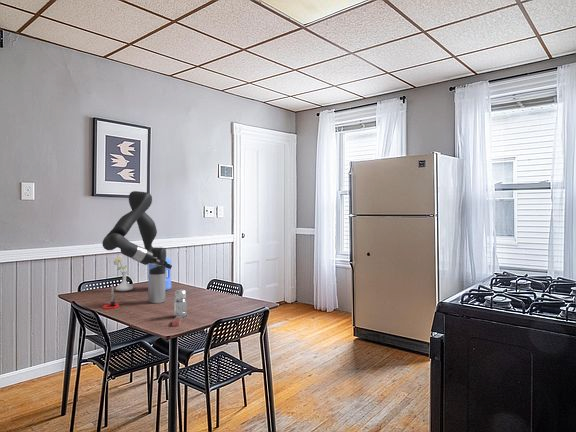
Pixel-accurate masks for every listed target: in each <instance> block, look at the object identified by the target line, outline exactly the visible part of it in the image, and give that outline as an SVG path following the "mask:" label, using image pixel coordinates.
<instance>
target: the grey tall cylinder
mask: <svg viewBox="0 0 576 432" xmlns="http://www.w3.org/2000/svg"><path fill="white" fill-rule="evenodd" d="M173 303H174V306H173V308H174V311H175V313H182V312H187V311H188V309H187V307H188V304H187V303H188V301H187V291H186V290H185V289H176V290H174V302H173ZM174 311H173V312H174Z"/></svg>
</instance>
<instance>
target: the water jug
mask: <svg viewBox="0 0 576 432" xmlns="http://www.w3.org/2000/svg"><path fill="white" fill-rule="evenodd" d="M166 262H167V263H168V264H170V265H172V259H171V258H169V257H167V256H166ZM155 267H157V266H154V265H152V264H150V263H149V264H147V268H148V269H147V271H148V272H147V273H148V274H147V276H148V277H147V278H148V280H147V281H148V286H150V274H149V271H150V269H152V268H155ZM166 271H167V276H165V291H169V290H171V289H172V278H171V269H168V268H165V272H166ZM148 286H147V287H148Z"/></svg>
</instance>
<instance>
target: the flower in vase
mask: <svg viewBox="0 0 576 432" xmlns="http://www.w3.org/2000/svg"><path fill="white" fill-rule="evenodd" d="M122 260H123V256H122V254H120V255H118V256H117V257H116V258H115V259H114V260H113V265H115V266H118V265H119V264H120V266H118V267H117V269H116V270H117V271H120V273H121V275H122V281H121V282H120V283H119V284H118V285H117V286H116V287H115V291H118V292H127V291H131V290H133V289H134V286H133V285H132V284H130V283H129V282H128V281H127V274H128V272H129V270H128V269H127V268H128V267H127V264H126V265H124V266H122V263H121V262H122ZM121 269H122V270H121ZM126 269H127V270H126Z"/></svg>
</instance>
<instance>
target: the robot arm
mask: <svg viewBox="0 0 576 432" xmlns="http://www.w3.org/2000/svg"><path fill="white" fill-rule="evenodd" d="M128 203H129V206H130V208H131V210H130V211H129V212H127V213H125V214H124V215H123V216H121V217H120V218H119V220H118V221H117V222H116V224H115V225H114V226H113V228H112V229H111V230H110V231H108V233H107V234H106V236H105V237H104V238H103V240H102V247H103V249H105V250H107V251H113V250H115V249H117V248H118V249H120V253H121V255H123V256H126V257H128V258H130V259H132V260H133V261H135V262H138V263H140V264H142V265H143V266H144V265H145V266H148V264H149V263H150V264H152V265H154V266H157V267H155V268H152V269H150V271H149V274H150V286H147V295H148V296H147V297H148V298H147V300H148V302H149V303H152V304H160V303H165V302H166V290H165V277H166V271H165V268H168V269H170V270H171V269H172V267H173V265H172V264H171V265H170V264H168V263H167V262H166V257H167V251H166V248H165V247H161V246H159V247H158V246H157V247H156V246H155V247H153V245H152V244H153V242H154V240H155V238H156V237H157V233H158V230H157V226H156V223H155V221H154V220H153V218H152V217H151V216H150V215H148V214H147V210H149V209H150V207H151V206H152V203H153V197H152V194H151V193H149V192H145V191H137V190H133V191H131V192H130V193H129V194H128ZM135 223H137V226H138V230H139V234H140V235H141V238H142V239H141V240H142V242H143V245H144V247H142V246H140V245H137V244H135V243H133V242H131V241H129V240H128V238H127V237H125V236H126V235H128V233H129V231H130V230H131V228H132V227H133V225H134V224H135Z"/></svg>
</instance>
